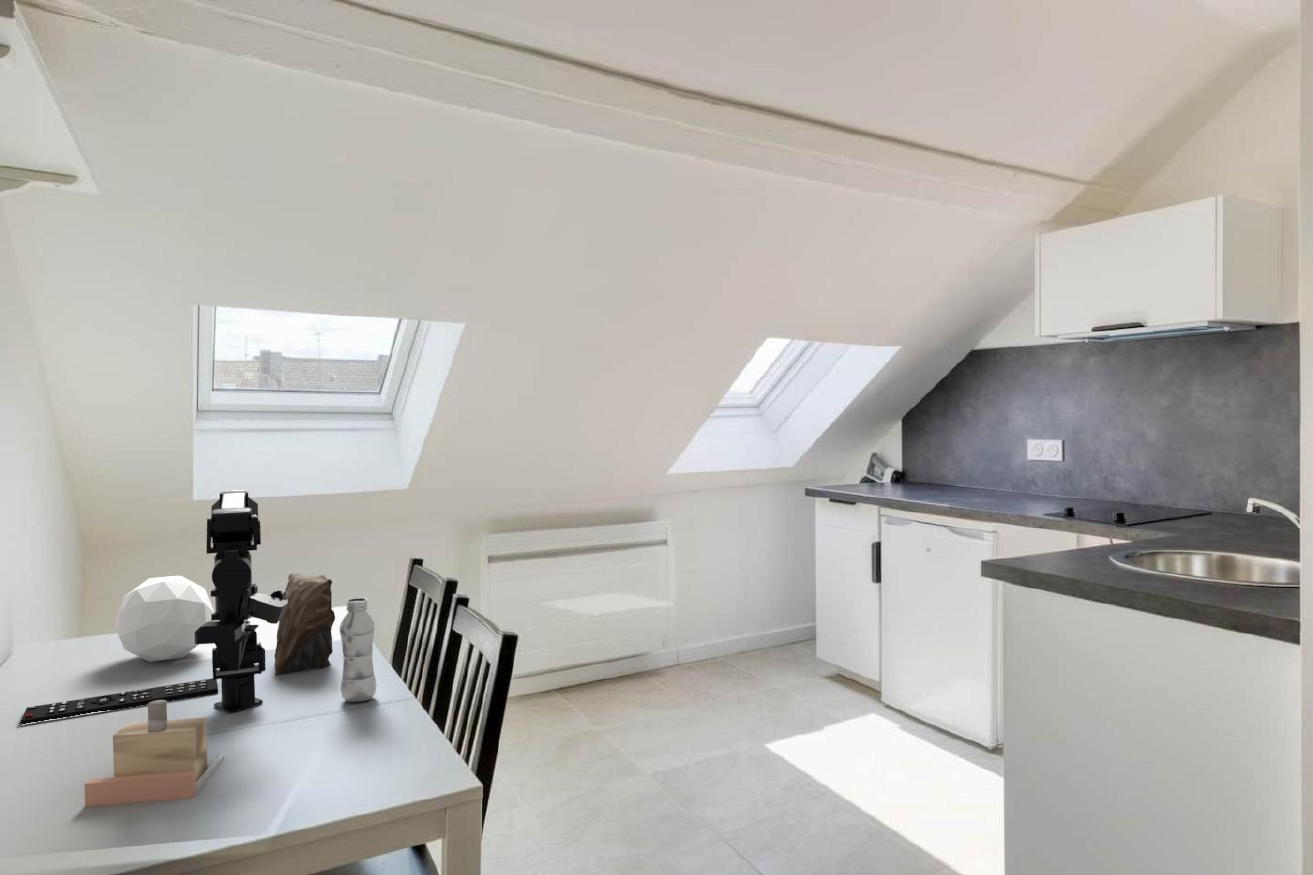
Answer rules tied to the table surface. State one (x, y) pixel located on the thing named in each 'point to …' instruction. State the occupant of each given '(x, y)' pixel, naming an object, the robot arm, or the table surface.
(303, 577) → the brown rock
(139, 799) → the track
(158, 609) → the ball
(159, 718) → the plate
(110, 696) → the remote control
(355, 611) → the plastic bottle
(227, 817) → the table surface
